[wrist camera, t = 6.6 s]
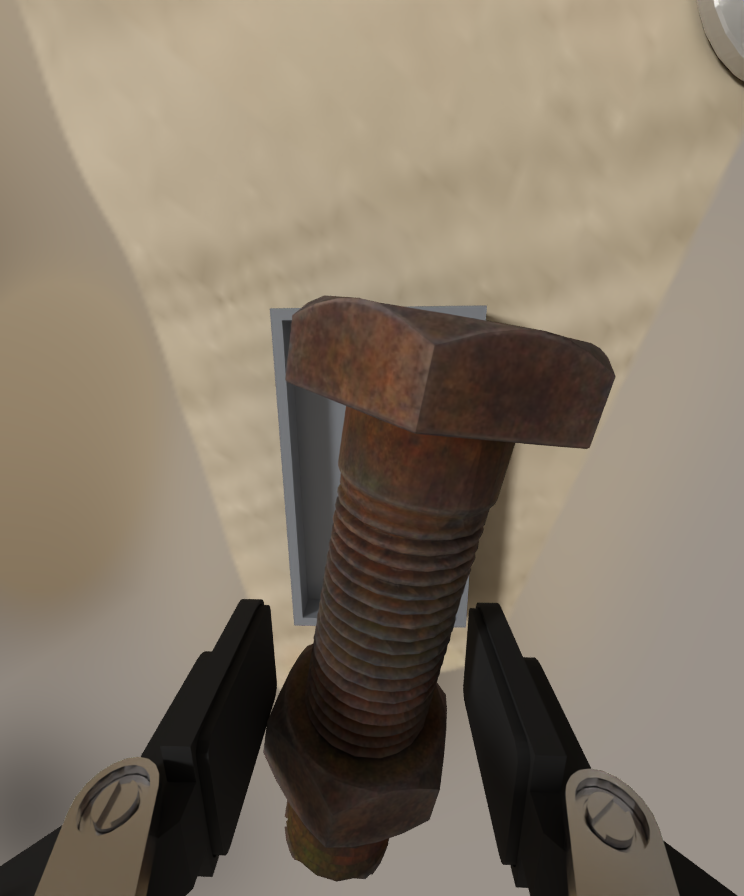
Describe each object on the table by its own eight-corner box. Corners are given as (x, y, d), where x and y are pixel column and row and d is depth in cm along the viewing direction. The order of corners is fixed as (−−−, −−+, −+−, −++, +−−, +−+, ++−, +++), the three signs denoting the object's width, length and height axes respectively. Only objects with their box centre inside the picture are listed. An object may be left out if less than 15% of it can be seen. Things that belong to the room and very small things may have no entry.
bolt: (299, 711, 15) (363, 307, 10) (426, 759, 14) (558, 342, 9) (202, 924, 10) (246, 274, 5) (399, 1023, 9) (681, 350, 4)
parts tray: (475, 309, 22) (486, 305, 20) (458, 602, 28) (465, 627, 25) (281, 311, 23) (269, 308, 20) (301, 601, 28) (294, 625, 26)
